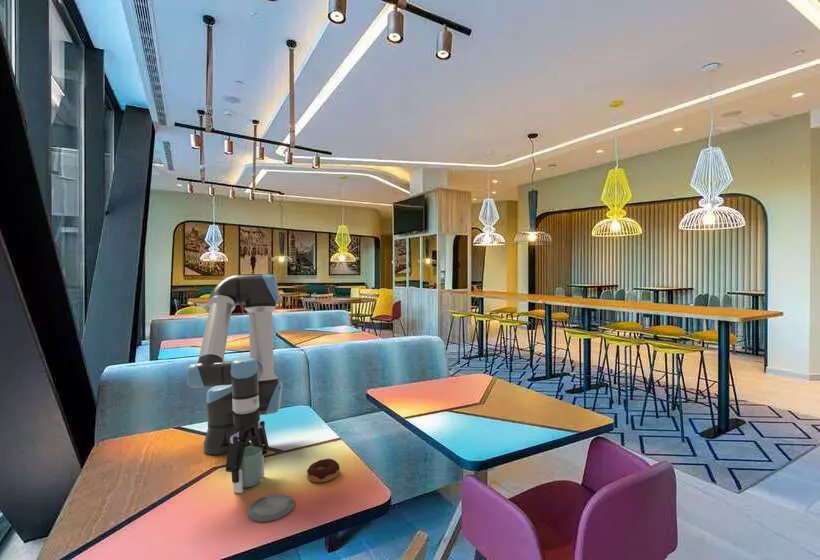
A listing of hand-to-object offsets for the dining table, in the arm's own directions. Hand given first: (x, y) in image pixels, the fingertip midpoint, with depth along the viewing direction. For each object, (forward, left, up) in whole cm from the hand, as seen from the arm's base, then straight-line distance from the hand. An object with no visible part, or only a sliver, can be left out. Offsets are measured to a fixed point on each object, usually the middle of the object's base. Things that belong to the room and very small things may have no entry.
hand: (249, 483), depth 123 cm
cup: (0, 0, 0) cm, 0 cm away
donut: (+20, +10, -1) cm, 22 cm away
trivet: (+15, -10, 0) cm, 18 cm away
